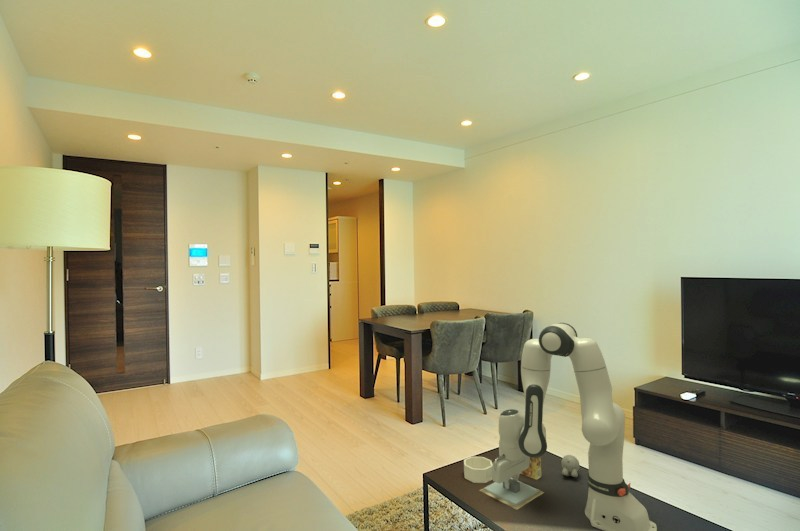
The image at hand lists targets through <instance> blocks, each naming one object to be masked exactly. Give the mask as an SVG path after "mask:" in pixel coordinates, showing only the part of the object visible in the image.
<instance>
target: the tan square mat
mask: <svg viewBox="0 0 800 531" xmlns="http://www.w3.org/2000/svg"><path fill="white" fill-rule="evenodd" d="M493 483H495V481H493V482H492V483H490V484H488V485H486V486H484V487H483V488H481V489H479V490H478V491H479V492H481V493H483V494H484V495H485V494H486V496H489V497H492V498H493V499H495V500H497V501H499V502H501V503H503V504H505V506H506V505H507V506H509V507H511V508H512V509H514V510H519V509H520V508H523V507H524V506H525V505H527V504H529V503H530V502H532V501H533V500H535V499H536V498H538V497H540V496H541V495H544V493H545V492H544V491H542V490H540V489H538V490H539V492H538V493H537V494H535V495H534V496H532V497H530V498H529V499H527V500H526V501H524V502H522V503H521V504H519V505H517V506H514V505H512V504H510V503H508V502H506V501H504V500H502V499H500V498H498V497H496V496H494V495H492V494H490V493H488V492H486V491H484V488H485V487H487V486H489V485H491V484H493Z"/></svg>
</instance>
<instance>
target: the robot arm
mask: <svg viewBox="0 0 800 531" xmlns="http://www.w3.org/2000/svg"><path fill="white" fill-rule="evenodd" d="M538 336H539V337H538V338H531V339H528V340H526V342H524V344H523V349H522V353H521V360H520V361H521V362H520V376H521V384H522V389H523V395H524V403H525V404H524V405H525V408H524V410H525V411H524V414H522V413H521V412H520V411H519V410H517V409H506V410H503V411H502V412H501V413H500V415H499V417H498V435H499V441H498V455H499V456H497V457H496V458H495V460H494V461H493V462H492V464H493V466H492V480H491V481H493V482H497V483H499V484H500V483H502V482H504V483H505V488H506V489H509V488H511V484H510V483H509V482H508V481H509V478H513V479H512V480H514V481H517V482H518V481H519V477H520V472H522V471H524V470H526V469H528V467H529V457H532V458H538V457H541V458H542V456H543V455H545V453H546V452H547V449H548V444H547V443H548V442H547V432H546V431H547V429H546V427H545V424H544V423H543V415H544V414H543V413H544V412H543V411H544V410H543V409H544V403H545V398H546V394H547V391H548V386H549V383H550V378H551V370H552V368H551V365H552V357H553V356H559V357H563V358H564V357H568V358H569V359H570V361H571V365H572V368H573V373H574V375H575V380H576V384H577V387H578V392H579V399H580V400H579V403H580V414H581V433H582V435H583V437H584V439H585V440H586V441H587V442H589V447H588V452H587V456H588V457H587V458H588V464H587V465H588V472H587V489H588V492H587V501H586V505H585V508H584V514H585V517H586V519H588V520H589V521H590V522H589V523H590V525H591V527H594V528H596V529H599V530H602V531H658V528H657V524H656V522H653V521H652V520H650V517H649V514H648V511H647V508H646V506H645V505H643V504H642V503H641V502H640V501H639V500H638V499H637V498H636V497H635V496H634V495H633V494H632V493H631V492H630V491H629V490H630V488H631V482H629V483H628V484H627V483H626V481H625V479H624V472H623V471H624V470H623V469H624V468H623V464H624V463H623V457H624V455H623V454H624V446H625V445H624V444H625V429H626V426H625V425H626V415H625V411H624V410H623V407H621V406H620V405H619V404H617V403H616V402H614V401H613V387H612V382H611V379H610V375H609V371H608V368H607V365H606V361H605V358H604V356H603V354H602V353H603V352H602V351H601V349H600V346H599V345H598V343H597V341H596V340H594V339H593V338H589V337H578V332H577V331H576V329H575V328H574V327H573V326H572V325H570V324H569V323H566V322H558V323H553V324H550V325H548V326H546V327H545V328H543V329H542V331H541V332H540V333H539V335H538Z"/></svg>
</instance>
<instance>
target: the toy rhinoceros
mask: <svg viewBox="0 0 800 531" xmlns="http://www.w3.org/2000/svg"><path fill="white" fill-rule="evenodd" d="M561 467H562V471H561V474H562V475H563V476H565V477H569V476H571V477H572V478H578V476H579V474H578V471H579V469H580V462H579V459H577V457H576V456H574V455H572V454H566V455H564V456H563V457H562V458H561Z"/></svg>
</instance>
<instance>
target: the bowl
mask: <svg viewBox="0 0 800 531" xmlns="http://www.w3.org/2000/svg"><path fill="white" fill-rule="evenodd" d="M492 461H493V460H492V459H489V458H487V457H484V456H469V457H467V458H464V459H463V474H464V475H463V476H464V479H466V480H467V481H469V482H472V483H475V484H486V483H489V482H490V481H493V480H492V466H493V462H492Z"/></svg>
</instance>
